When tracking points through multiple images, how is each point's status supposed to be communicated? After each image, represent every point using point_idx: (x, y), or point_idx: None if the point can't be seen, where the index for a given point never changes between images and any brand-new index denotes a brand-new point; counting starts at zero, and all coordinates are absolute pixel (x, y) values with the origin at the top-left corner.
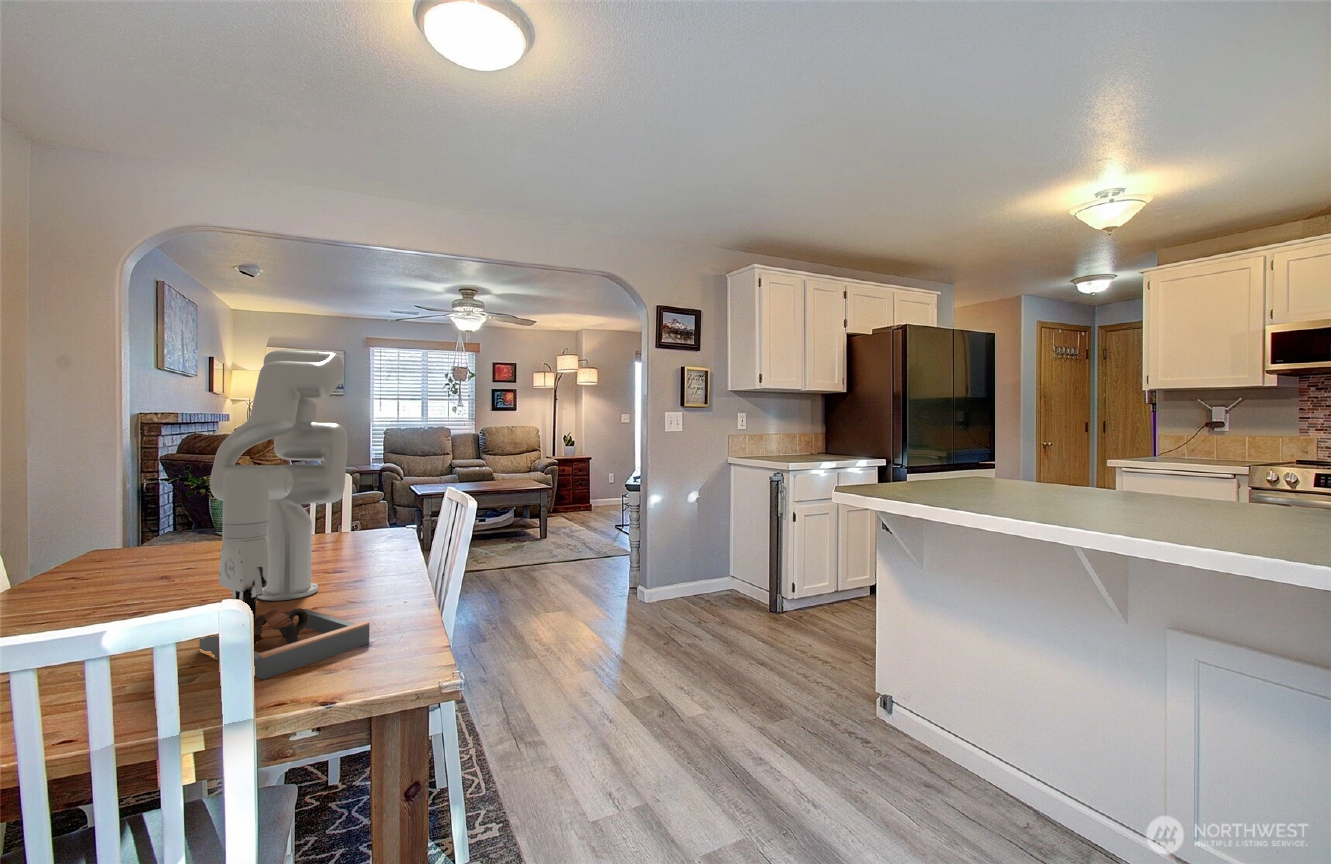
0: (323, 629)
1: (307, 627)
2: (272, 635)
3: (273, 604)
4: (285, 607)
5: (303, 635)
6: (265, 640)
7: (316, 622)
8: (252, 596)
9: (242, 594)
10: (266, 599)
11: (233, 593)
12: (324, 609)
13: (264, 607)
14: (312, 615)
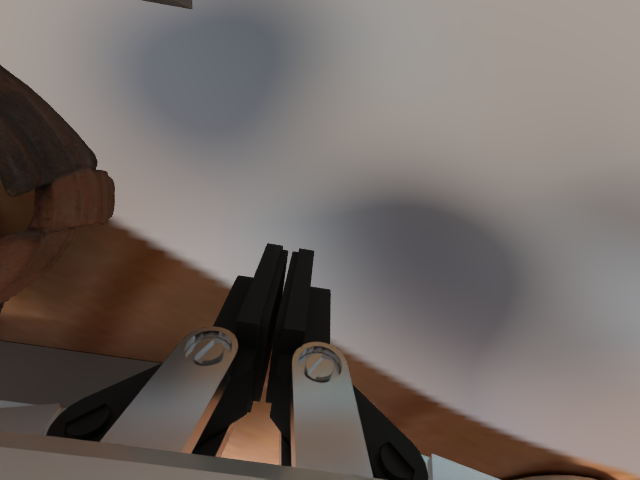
0: (20, 356)
1: (137, 361)
2: (161, 273)
3: (495, 459)
4: (425, 453)
5: (64, 311)
6: (117, 225)
7: (54, 380)
8: (24, 414)
9: (134, 417)
10: (552, 478)
11: (343, 424)
12: None
13: (501, 438)
14: (63, 406)
